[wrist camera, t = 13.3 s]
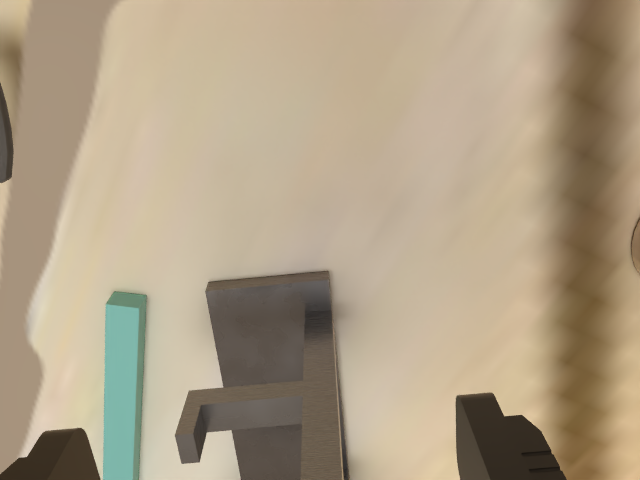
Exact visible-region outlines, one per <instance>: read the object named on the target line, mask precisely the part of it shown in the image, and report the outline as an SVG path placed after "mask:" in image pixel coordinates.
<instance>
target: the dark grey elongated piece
mask: <svg viewBox="0 0 640 480" xmlns="http://www.w3.org/2000/svg"><path fill="white" fill-rule="evenodd" d="M12 165H13V141H12V131H11V125H10V119H9V114H8V109H7V104H6V100H5V97H4V93H3V90H2V87H1V83H0V183H3V182H5V181H7V180H9V179H10V178H11V177H12Z"/></svg>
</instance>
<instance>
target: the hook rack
mask: <svg viewBox="0 0 640 480" xmlns="http://www.w3.org/2000/svg"><path fill="white" fill-rule="evenodd" d="M205 292H206V297H207V302H208V308H209V313H210V318H211V323H212V329H213V334H214V339H215V344H216V350H217V355H218V360H219V366H220V371H221V376H222V381H223V387H224V388H215V389H203V390H192V391H189V392H188V396H187V399H186V402H185V405H184V408H183V411H182V415H181V418H180V421H179V424H178V427H177V430H176V433H175V437H176V442H177V446H178V450H179V454H180V459H181V463H182V464H185V463H196V462H200V458H201V454H202V449H203V445H204V441H205V437H206V433H207V432H215V431H226V430H232V434H233V439H234V444H235V450H236V455H237V460H238V465H239V471H240V476H241V480H349V470H348V460H347V451H346V441H345V431H344V421H343V412H342V402H341V392H340V382H339V373H338V363H337V353H336V343H335V334H334V324H333V314H332V304H331V295H330V285H329V275H328V271H323V272H312V273H302V274H291V275H281V276H270V277H259V278H249V279H238V280H228V281H217V282H209V283H208V286H207V288H206V291H205Z"/></svg>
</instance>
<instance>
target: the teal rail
mask: <svg viewBox="0 0 640 480" xmlns="http://www.w3.org/2000/svg"><path fill="white" fill-rule="evenodd" d="M146 297H147V295H140V294H132V293H124V292H116V291H114V293H113V294H112V296H111V297H110V299H109V300H108V302H107V303H106V321H105V389H104V457H103V480H139V459H140V435H141V412H142V389H143V366H144V343H145V320H146Z"/></svg>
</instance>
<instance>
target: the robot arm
mask: <svg viewBox="0 0 640 480" xmlns="http://www.w3.org/2000/svg"><path fill="white" fill-rule="evenodd" d="M632 257H633V261H634V265H635V267H636V269H637V271H638V273H639V274H640V220H639V222H638V225H637V227H636V229H635V231H634V236H633V241H632ZM456 449H457V463H458V470H459V475H460V480H567V479H566V477H565V476H564V474H563V472H562V471H561V470H560V466H559V464H558V462H557V460H556V459H555V457H554V455H553V454H552V453H551V449H550V447H549V445H548V444H547V442H546V440H545V438H544V436H543V434H542V432H541V431H540V430H539V429H538V428H537V427H536V426H534V425H533V424H532V423H531V422H530V421H528V420H527V419H526V418H525V417H524V416H522V415H516V416H505V417H504V415H503V413H502V411H501V409H500V407H499V404H498V402H497V400H496V398H495V396H494V394H493V393H480V394H469V395H458V396H457V397H456ZM0 480H100V476H99V473H98V470H97V467H96V463H95V460H94V457H93V453H92V450H91V447H90V444H89V440H88V437H87V434H86V432H85V431H84V430H83V429H82V428H74V429H63V430H51V431H45V432H44V433H42V434H41V436H40V437H39V439H38V440H37V442H36V444H35V445H34V447H33V448H32V450H31V452H30V453H29V455H28V456H27V457H24V458H18V459H17V460H16V461H15V462H14V463H13V464H11V465H10V466H9V467H8V468H7V469H6V470H5V471H4V472H2V473H1V474H0Z"/></svg>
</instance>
